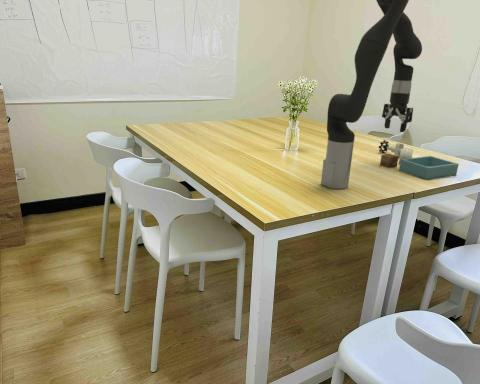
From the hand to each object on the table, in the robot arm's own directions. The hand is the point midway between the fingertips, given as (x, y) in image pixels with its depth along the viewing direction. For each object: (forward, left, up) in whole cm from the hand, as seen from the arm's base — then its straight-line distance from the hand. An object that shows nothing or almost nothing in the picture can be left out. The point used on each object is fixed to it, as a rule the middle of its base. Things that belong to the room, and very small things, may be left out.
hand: (394, 130), depth 167 cm
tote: (+8, -14, -16) cm, 23 cm away
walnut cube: (0, 0, -16) cm, 16 cm away
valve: (+17, +15, -17) cm, 28 cm away
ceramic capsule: (+10, 0, -16) cm, 19 cm away
